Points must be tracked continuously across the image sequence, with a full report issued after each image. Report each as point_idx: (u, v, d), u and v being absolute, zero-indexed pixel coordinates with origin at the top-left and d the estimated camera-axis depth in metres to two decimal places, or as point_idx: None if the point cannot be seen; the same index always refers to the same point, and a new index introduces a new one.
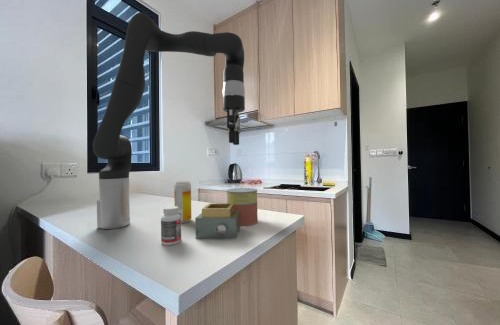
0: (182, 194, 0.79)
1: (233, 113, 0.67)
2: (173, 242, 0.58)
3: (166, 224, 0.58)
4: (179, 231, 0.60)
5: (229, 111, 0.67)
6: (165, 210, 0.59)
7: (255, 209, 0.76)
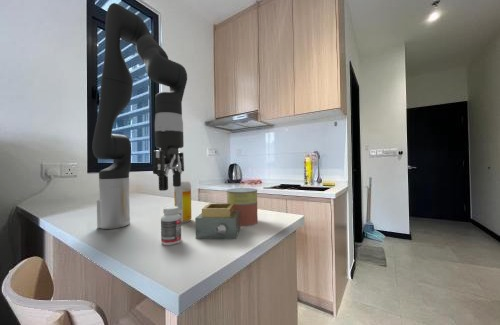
0: (182, 194, 0.79)
1: (160, 155, 0.54)
2: (173, 242, 0.58)
3: (166, 224, 0.58)
4: (179, 231, 0.60)
5: (156, 153, 0.54)
6: (165, 210, 0.59)
7: (255, 209, 0.76)
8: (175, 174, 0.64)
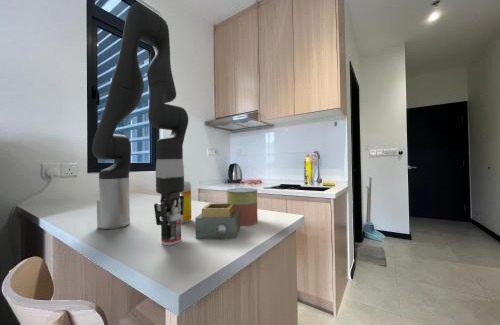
0: (182, 194, 0.79)
1: (162, 209, 0.54)
2: (173, 242, 0.58)
3: None
4: (179, 231, 0.60)
5: (157, 207, 0.54)
6: None
7: (255, 209, 0.76)
8: None
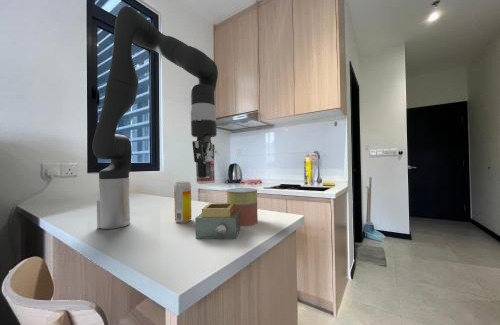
0: (182, 194, 0.79)
1: (200, 146, 0.58)
2: (208, 181, 0.62)
3: None
4: (213, 172, 0.64)
5: (195, 143, 0.58)
6: None
7: (255, 209, 0.76)
8: None
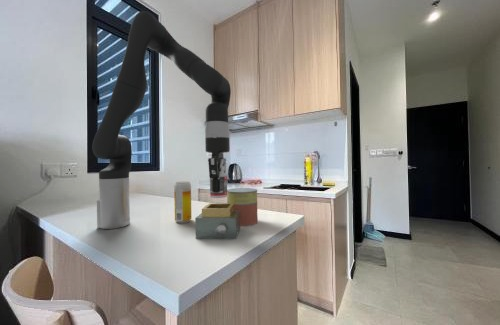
0: (182, 194, 0.79)
1: (215, 163, 0.61)
2: (222, 195, 0.65)
3: None
4: (226, 187, 0.67)
5: (211, 161, 0.61)
6: None
7: (255, 209, 0.76)
8: None
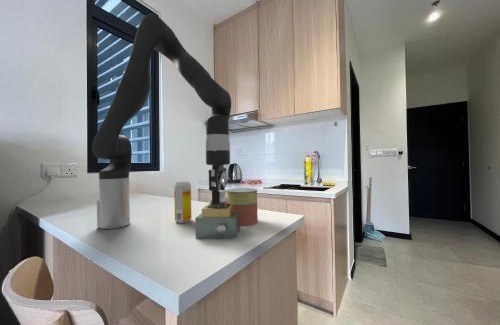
0: (182, 194, 0.79)
1: (215, 174, 0.61)
2: None
3: (215, 204, 0.65)
4: None
5: (211, 172, 0.61)
6: None
7: (255, 209, 0.76)
8: (220, 188, 0.71)
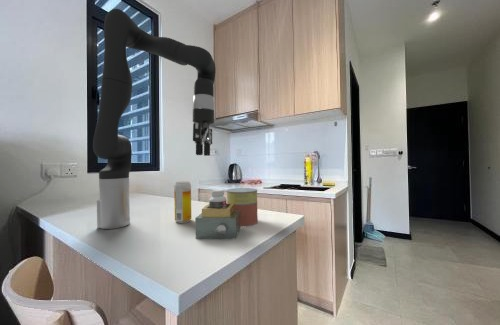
0: (182, 194, 0.79)
1: (199, 127, 0.69)
2: None
3: (214, 204, 0.65)
4: None
5: (195, 125, 0.69)
6: (213, 192, 0.66)
7: (255, 209, 0.76)
8: (206, 145, 0.80)
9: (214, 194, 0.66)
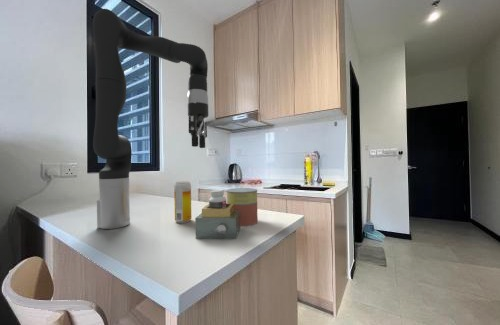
0: (182, 194, 0.79)
1: (194, 119, 0.73)
2: None
3: (214, 204, 0.65)
4: None
5: (190, 117, 0.73)
6: (212, 192, 0.66)
7: (255, 209, 0.76)
8: (201, 138, 0.84)
9: (213, 194, 0.66)
